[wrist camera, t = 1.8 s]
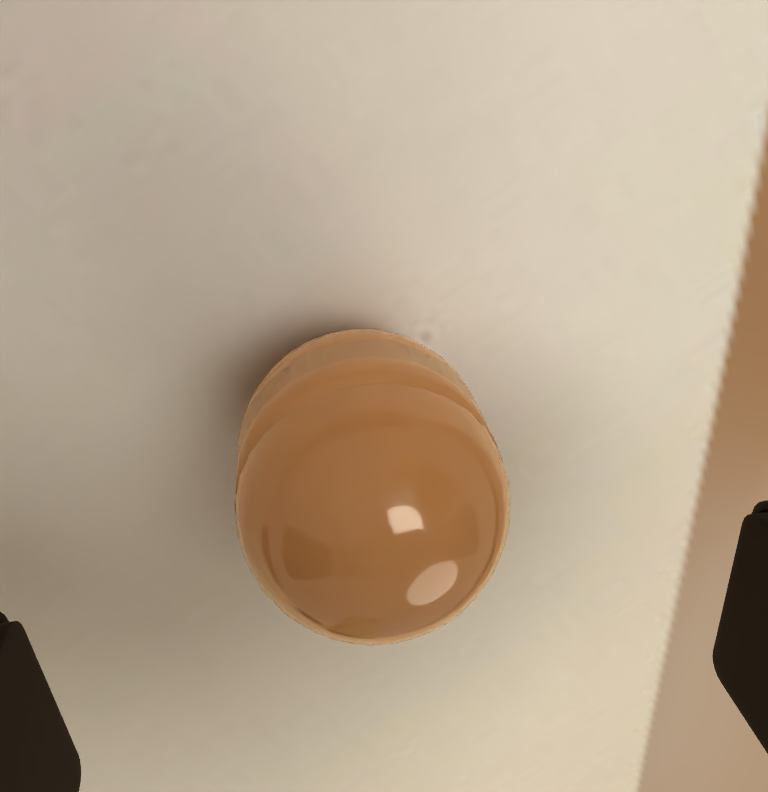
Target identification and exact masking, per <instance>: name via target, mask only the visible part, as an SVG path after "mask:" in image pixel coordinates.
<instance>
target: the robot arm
mask: <svg viewBox="0 0 768 792" xmlns="http://www.w3.org/2000/svg"><path fill="white" fill-rule="evenodd" d="M713 663H714V667H715V671H716V673H717V676H718V678H719V679H720V681H721V683H722V684H723V686H724V688H725V689H726V691H727V692H728V694H729V695H730V697H731V698H732V700H733V701H734V703H735V704H736V706H737V707H738V709H739V711H740V712H741V714H742V715H743V716H744V718H745V720H746V721H747V723H748V724H749V726H750V727H751V729H752V730H753V732H754V733H755V735H756V736H757V738H758V740H759V741H760V743H761V744H762V746H763V747H764V748H765V750H766V752H767V753H768V501H763V502H759V503H758V504H757V505H756V506H755V507H754V509H753V512H752V514H750V515H747V516H746V517H745V518H744V520H743V523H742V527H741V531H740V535H739V540H738V544H737V549H736V553H735V557H734V562H733V566H732V571H731V575H730V579H729V584H728V588H727V593H726V597H725V602H724V606H723V610H722V614H721V619H720V623H719V627H718V632H717V636H716V641H715V645H714V649H713ZM80 781H81V765H80V759H79V755H78V753H77V750H76V748H75V746H74V743H73V741H72V739H71V736H70V734H69V732H68V730H67V727H66V725H65V723H64V720H63V718H62V716H61V713H60V711H59V709H58V706H57V704H56V702H55V699H54V697H53V695H52V692H51V690H50V688H49V686H48V683H47V681H46V679H45V676H44V674H43V672H42V669H41V667H40V665H39V662H38V660H37V658H36V655H35V653H34V651H33V648H32V646H31V644H30V641H29V639H28V637H27V635H26V632H25V630H24V628H23V626H22V624H21V623H19V622H18V621H13V622H9V621H8V619H7V618H6V616H5V615H4V614H3V613H1V612H0V792H79V787H80Z"/></svg>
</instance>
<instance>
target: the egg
mask: <svg viewBox="0 0 768 792" xmlns="http://www.w3.org/2000/svg"><path fill="white" fill-rule="evenodd" d="M235 511H236V521H237V530H238V537H239V540H240V544H241V547H242V550H243V553H244V556H245V559H246V561H247V563H248V565H249V567H250V570H251V572H252V574H253V575H254V577H255V579H256V580H257V582H258V583H259V585H260V587H261V588H262V590H263V591H264V592H265V593H266V594H267V595H268V596H269V597H270V598H271V600H272V601H273V602H274V603H275V604H276V605H277V606H278V607H279V608H280V609H281V610H282V611H283V612H284V613H285V614H286V615H287V616H288V617H290V618H292V619H293V620H295V621H296V622H298V623H299V624H301V625H302V626H304V627H306V628H308V629H310V630H312V631H314V632H316V633H318V634H321V635H323V636H326V637H328V638H330V639H333V640H337V641H341V642H346V643H350V644H361V645H381V644H392V643H397V642H402V641H406V640H411V639H413V638H416V637H419V636H422V635H425V634H428V633H430V632H432V631H433V630H435V629H437V628H439V627H441V626H443V625H445V624H446V623H448V622H449V621H451V620H452V619H453V618H455V617H456V616H458V615H459V614H460V613H461V612H462V611H463V610H464V609H465V608H466V607H467V606H468V605H469V604H470V603H471V602H472V601H473V600H474V599H475V598H476V597H477V595H478V594H479V593H480V592H481V590H482V589H483V588H484V586H485V585H486V583H487V582H488V580H489V579H490V578H491V576H492V575H493V573H494V570H495V568H496V566H497V564H498V561H499V559H500V557H501V554H502V551H503V548H504V545H505V542H506V538H507V532H508V527H509V521H510V498H509V482H508V479H507V476H506V472H505V469H504V466H503V462H502V458H501V455H500V452H499V450H498V447H497V444H496V442H495V440H494V438H493V436H492V434H491V432H490V430H489V428H488V426H487V424H486V422H485V420H484V418H483V416H482V414H481V412H480V410H479V408H478V406H477V404H476V402H475V400H474V398H473V396H472V395H471V393H470V391H469V389H468V388H467V386H466V385H465V384H464V382H463V381H462V379H461V378H460V377H459V375H458V374H457V373H456V371H455V370H454V369H453V368H452V367H451V366H450V365H449V364H448V363H447V362H446V361H445V360H444V359H443V358H442V357H440V356H439V355H437V354H436V353H434V352H433V351H431V350H430V349H428V348H426V347H425V346H423V345H422V344H420V343H418V342H416V341H414V340H412V339H409V338H407V337H404V336H401V335H399V334H396V333H392V332H387V331H381V330H376V329H350V330H344V331H339V332H333V333H328V334H326V335H323V336H320V337H318V338H315V339H312V340H310V341H307V342H306V343H304V344H302V345H301V346H299V347H297V348H296V349H294V350H292V351H291V352H289V353H288V354H287V355H286V356H284V357H283V358H282V359H281V360H280V361H279V362H278V363H277V364H276V365H274V366H273V367H272V369H271V370H270V371H269V372H268V374H267V375H266V376H265V378H264V379H263V380H262V382H261V383H260V385H259V386H258V387H257V389H256V390H255V391H254V393H253V395H252V397H251V400H250V402H249V404H248V406H247V408H246V411H245V414H244V418H243V422H242V426H241V431H240V435H239V441H238V456H237V474H236V493H235Z"/></svg>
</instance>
